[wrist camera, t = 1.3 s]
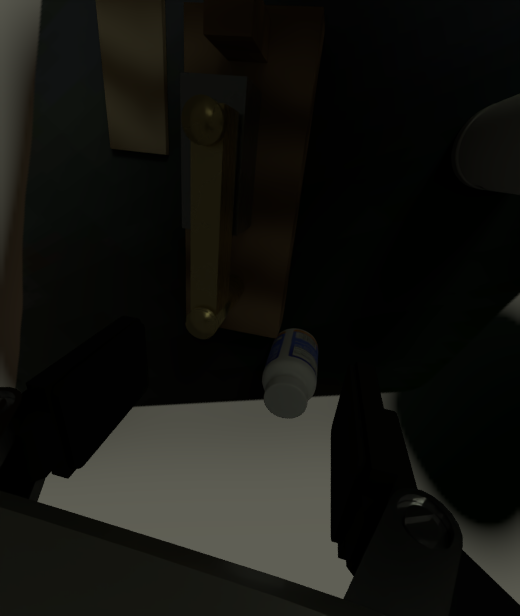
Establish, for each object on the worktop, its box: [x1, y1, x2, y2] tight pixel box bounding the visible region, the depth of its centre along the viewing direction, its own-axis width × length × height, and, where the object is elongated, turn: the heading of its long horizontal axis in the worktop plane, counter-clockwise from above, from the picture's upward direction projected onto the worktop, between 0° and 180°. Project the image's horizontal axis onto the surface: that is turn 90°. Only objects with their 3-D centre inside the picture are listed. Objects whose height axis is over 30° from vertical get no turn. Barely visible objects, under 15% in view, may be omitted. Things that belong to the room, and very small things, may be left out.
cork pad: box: [96, 0, 169, 155], centre depth 28 cm, size 12×6×1 cm, turn 174°
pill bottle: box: [262, 328, 318, 418], centre depth 32 cm, size 5×5×10 cm
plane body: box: [184, 0, 325, 339], centre depth 26 cm, size 26×10×9 cm, turn 174°
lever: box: [181, 94, 245, 339], centre depth 23 cm, size 15×2×9 cm, turn 174°
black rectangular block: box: [180, 72, 262, 236], centre depth 24 cm, size 10×4×4 cm, turn 174°
